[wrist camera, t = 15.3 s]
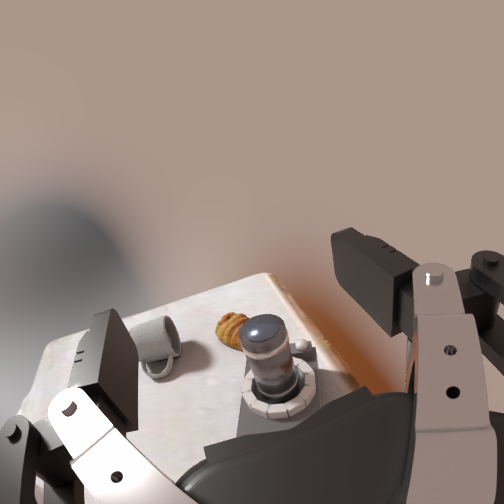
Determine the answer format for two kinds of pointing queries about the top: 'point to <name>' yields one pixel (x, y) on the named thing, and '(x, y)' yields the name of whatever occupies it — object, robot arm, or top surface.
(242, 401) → the grey socket block
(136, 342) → the ceramic mug
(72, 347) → the top surface
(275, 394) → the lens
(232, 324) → the pastry
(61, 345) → the top surface
